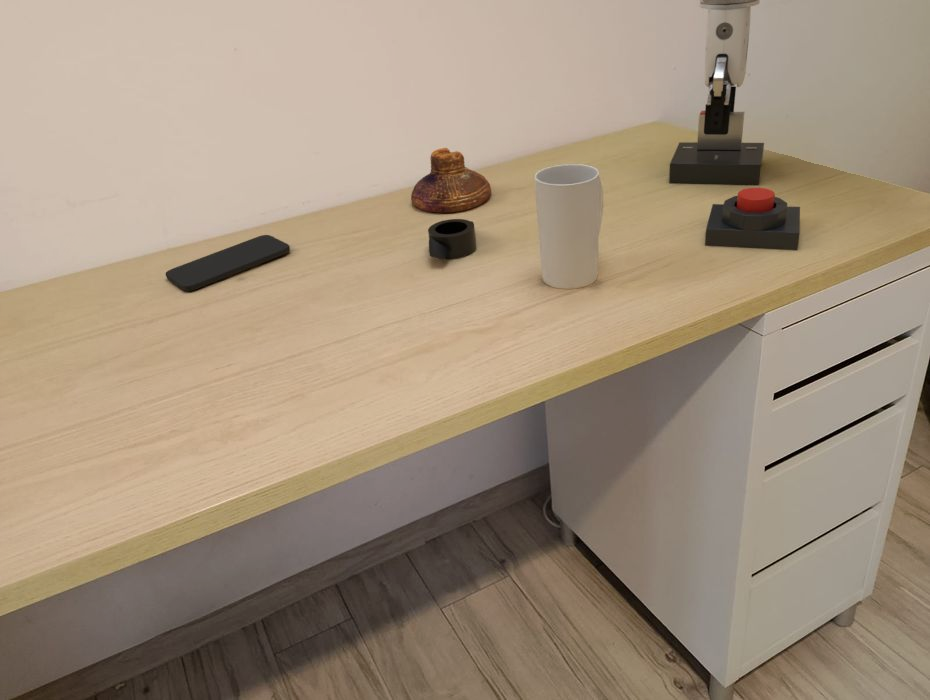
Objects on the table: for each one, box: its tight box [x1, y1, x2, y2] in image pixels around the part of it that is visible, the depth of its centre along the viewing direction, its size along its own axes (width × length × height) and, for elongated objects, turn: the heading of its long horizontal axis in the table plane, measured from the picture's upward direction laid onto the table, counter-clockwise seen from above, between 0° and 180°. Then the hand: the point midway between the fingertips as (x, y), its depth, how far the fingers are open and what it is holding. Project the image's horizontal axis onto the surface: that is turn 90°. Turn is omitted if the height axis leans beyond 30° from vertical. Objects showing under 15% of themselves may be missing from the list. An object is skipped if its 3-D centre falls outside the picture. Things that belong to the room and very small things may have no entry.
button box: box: [704, 195, 801, 251], centre depth 88 cm, size 10×8×4 cm
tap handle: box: [697, 110, 745, 150], centre depth 107 cm, size 6×2×5 cm, turn 69°
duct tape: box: [427, 218, 477, 260], centre depth 94 cm, size 8×10×3 cm
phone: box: [165, 234, 291, 292], centre depth 97 cm, size 7×1×15 cm
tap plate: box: [668, 141, 765, 187], centre depth 108 cm, size 12×12×3 cm
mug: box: [534, 163, 604, 290], centre depth 82 cm, size 10×7×12 cm, turn 138°
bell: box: [410, 147, 492, 214], centre depth 108 cm, size 12×12×7 cm
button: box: [737, 187, 776, 212], centre depth 86 cm, size 4×4×2 cm
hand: (718, 124), depth 107 cm, fingers open, 9 cm apart
